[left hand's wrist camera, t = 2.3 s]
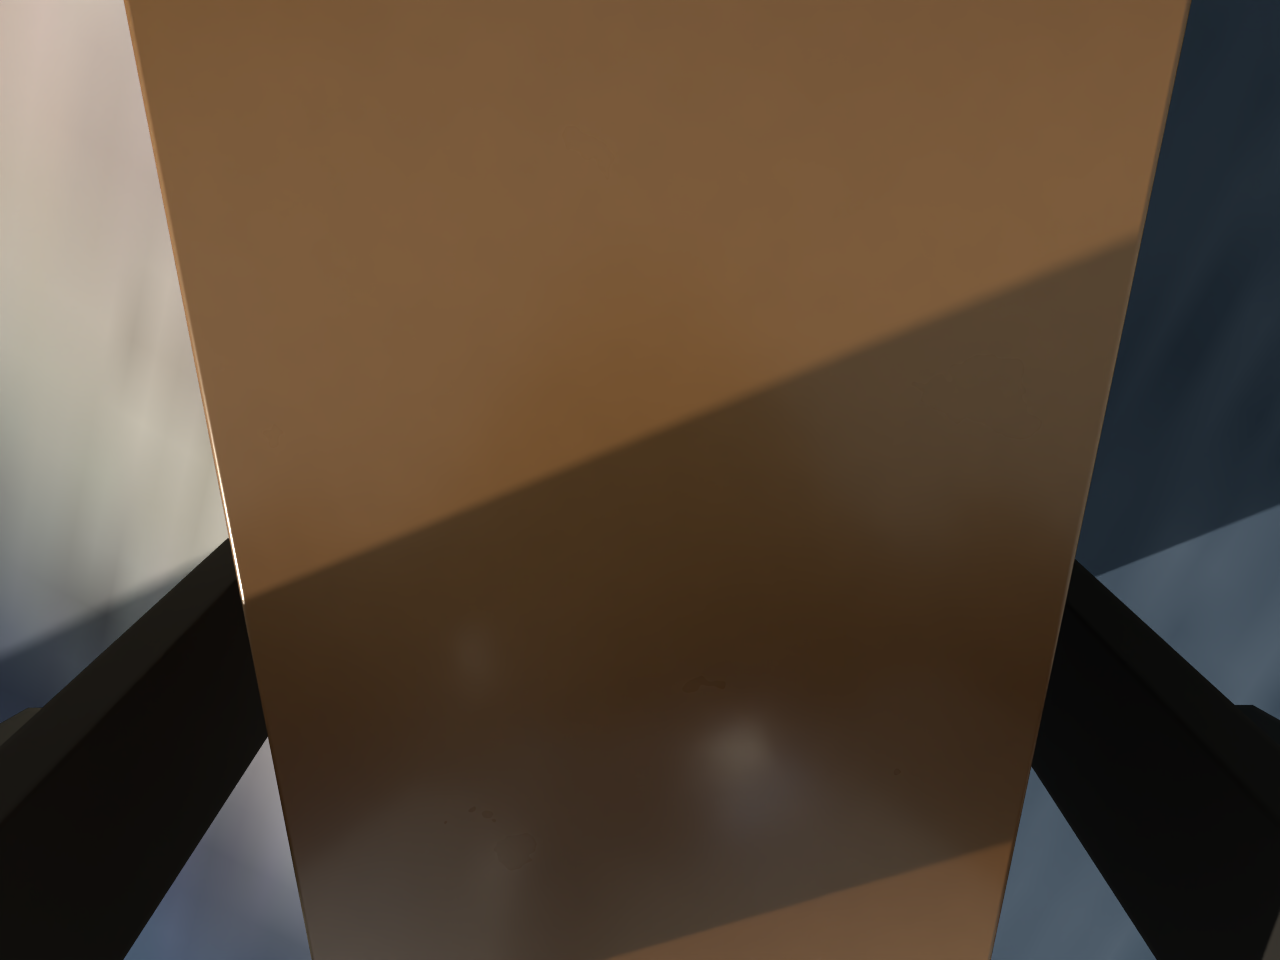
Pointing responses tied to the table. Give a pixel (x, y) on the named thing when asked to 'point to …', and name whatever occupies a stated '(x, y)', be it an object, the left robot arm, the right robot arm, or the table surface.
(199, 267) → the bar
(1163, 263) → the table surface
